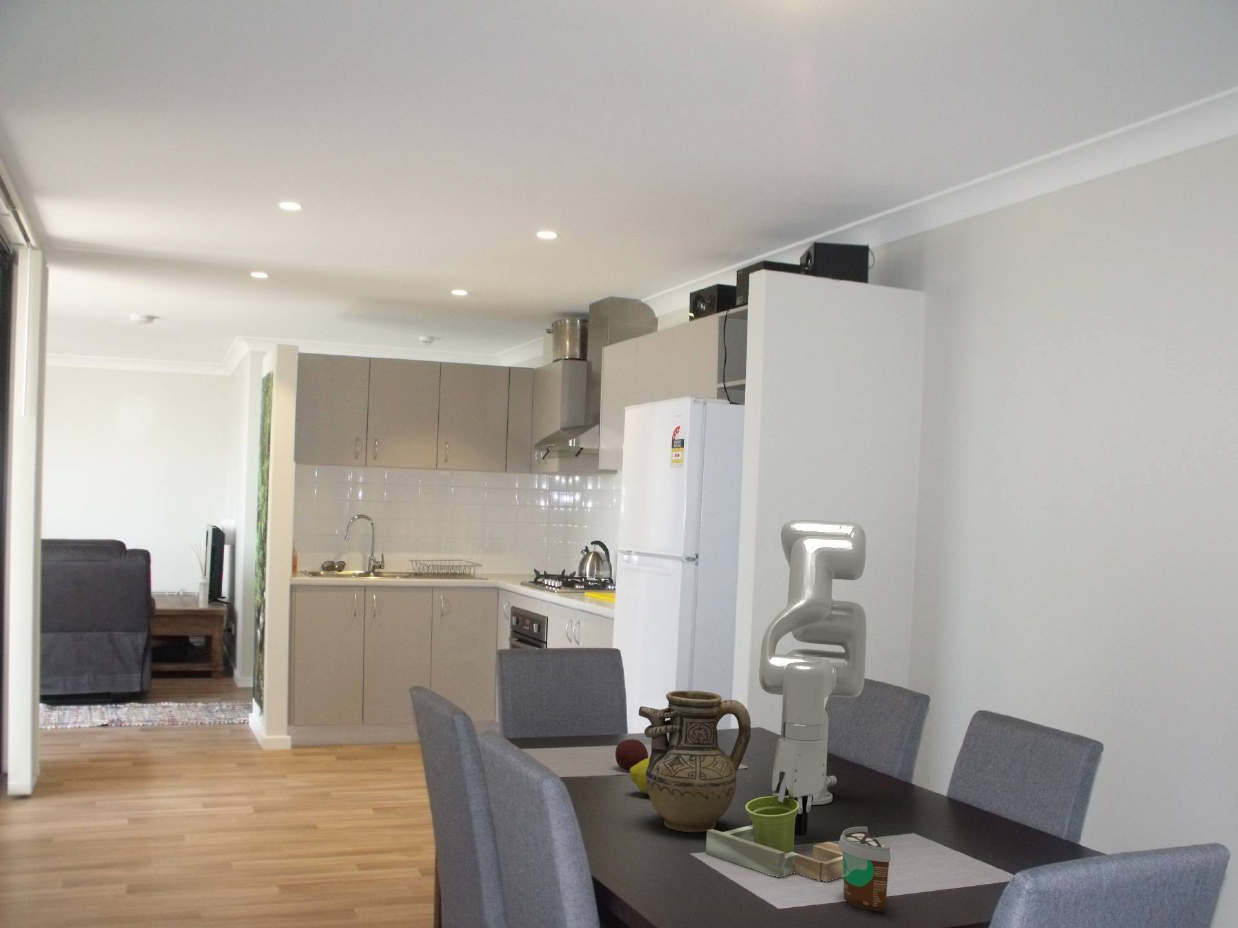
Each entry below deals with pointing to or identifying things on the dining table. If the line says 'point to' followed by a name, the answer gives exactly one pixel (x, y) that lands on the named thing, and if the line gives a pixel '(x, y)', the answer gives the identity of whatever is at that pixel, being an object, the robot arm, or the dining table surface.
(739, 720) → the decorative pitcher
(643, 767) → the lemon
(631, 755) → the dark red ball
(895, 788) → the dining table surface
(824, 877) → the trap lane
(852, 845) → the food container
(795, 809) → the plant pot
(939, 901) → the dining table surface
